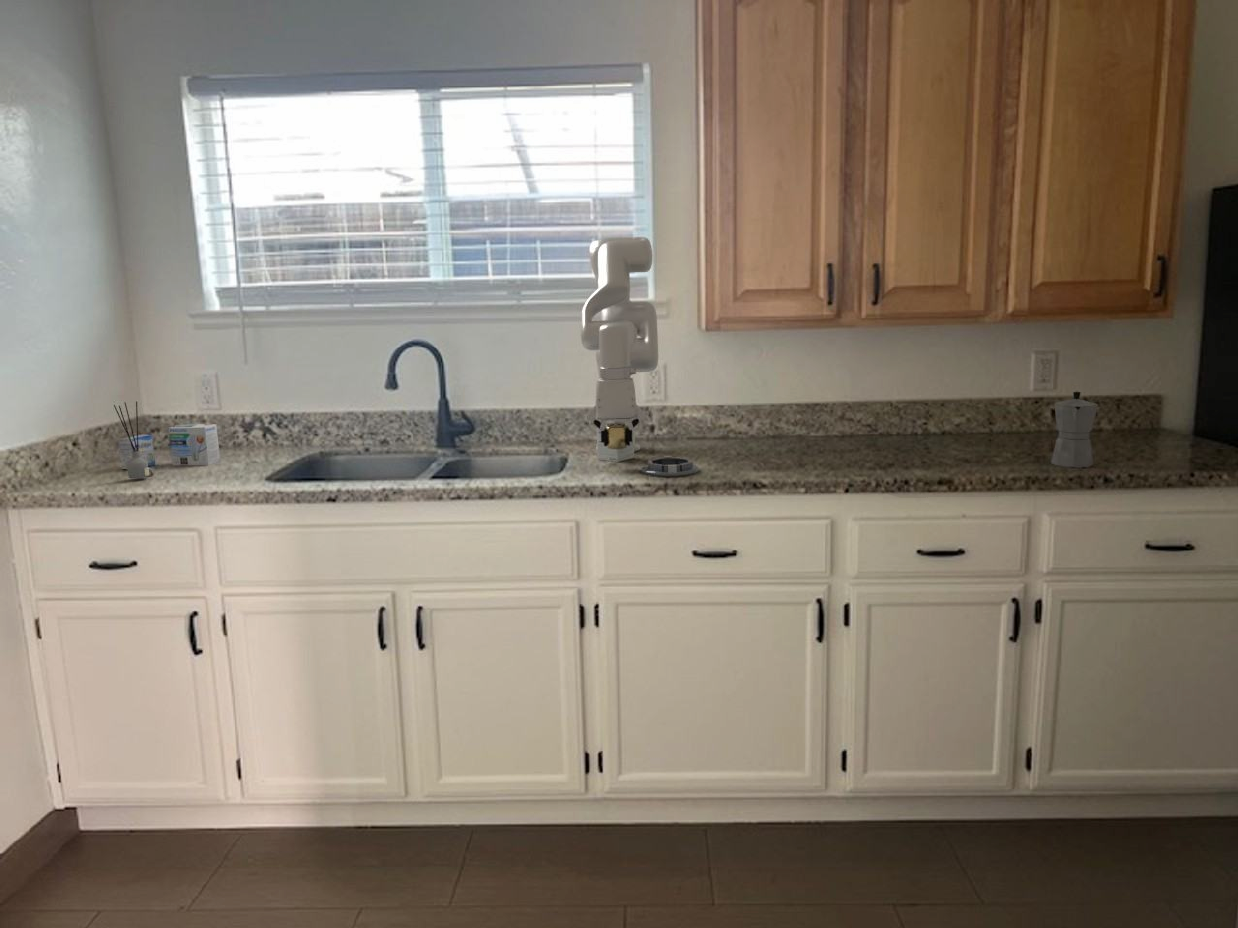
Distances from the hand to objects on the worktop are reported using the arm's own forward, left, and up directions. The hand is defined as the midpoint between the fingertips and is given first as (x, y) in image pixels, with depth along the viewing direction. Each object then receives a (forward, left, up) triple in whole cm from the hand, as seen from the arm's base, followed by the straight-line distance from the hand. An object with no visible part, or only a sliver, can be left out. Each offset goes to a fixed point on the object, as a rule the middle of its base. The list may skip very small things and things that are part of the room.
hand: (616, 444), depth 224 cm
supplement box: (-14, 0, -7) cm, 15 cm away
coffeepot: (+10, +112, -6) cm, 113 cm away
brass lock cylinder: (0, 0, -1) cm, 1 cm away
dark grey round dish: (+6, +13, -6) cm, 16 cm away
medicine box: (-21, -131, -7) cm, 133 cm away
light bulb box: (-25, -117, -7) cm, 120 cm away
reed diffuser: (-4, -123, -6) cm, 123 cm away
